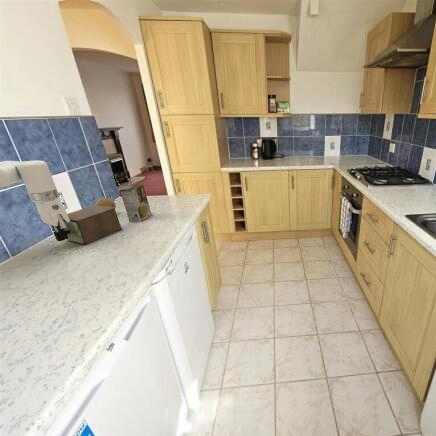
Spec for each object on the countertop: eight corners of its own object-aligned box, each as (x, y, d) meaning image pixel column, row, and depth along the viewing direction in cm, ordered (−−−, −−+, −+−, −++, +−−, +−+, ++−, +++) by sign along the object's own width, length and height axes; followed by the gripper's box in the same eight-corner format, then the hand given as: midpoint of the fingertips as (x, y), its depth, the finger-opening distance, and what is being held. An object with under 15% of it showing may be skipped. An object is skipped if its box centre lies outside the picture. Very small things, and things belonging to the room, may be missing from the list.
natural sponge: (120, 215, 126) (114, 197, 122) (100, 220, 120) (92, 202, 116) (116, 211, 132) (110, 193, 128) (96, 216, 126) (89, 198, 122)
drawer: (78, 245, 96) (69, 225, 92) (61, 240, 100) (53, 221, 96) (115, 229, 108) (109, 211, 105) (99, 226, 112) (92, 208, 109)
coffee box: (140, 214, 127) (131, 184, 120) (152, 214, 127) (143, 184, 120) (128, 221, 118) (118, 190, 112) (141, 221, 118) (132, 189, 112)
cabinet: (86, 244, 98) (76, 220, 94) (68, 239, 103) (58, 216, 98) (122, 229, 110) (114, 207, 106) (104, 225, 115) (96, 204, 111)
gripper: (68, 195, 89) (84, 239, 96) (46, 190, 95) (63, 232, 102) (42, 201, 83) (61, 248, 90) (20, 195, 88) (41, 240, 95)
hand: (62, 239), depth 96 cm, fingers closed
